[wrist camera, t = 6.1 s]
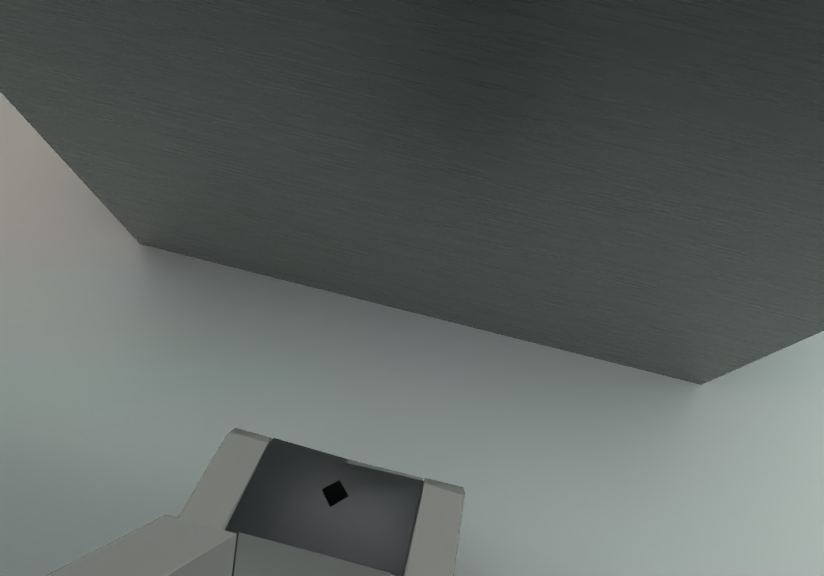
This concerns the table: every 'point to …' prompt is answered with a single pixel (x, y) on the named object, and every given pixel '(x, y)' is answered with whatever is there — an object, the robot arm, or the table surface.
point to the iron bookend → (464, 156)
